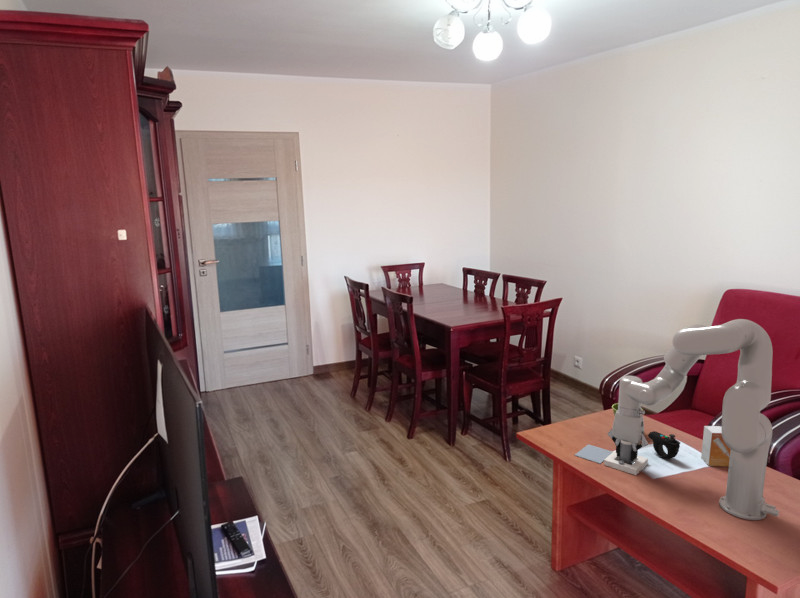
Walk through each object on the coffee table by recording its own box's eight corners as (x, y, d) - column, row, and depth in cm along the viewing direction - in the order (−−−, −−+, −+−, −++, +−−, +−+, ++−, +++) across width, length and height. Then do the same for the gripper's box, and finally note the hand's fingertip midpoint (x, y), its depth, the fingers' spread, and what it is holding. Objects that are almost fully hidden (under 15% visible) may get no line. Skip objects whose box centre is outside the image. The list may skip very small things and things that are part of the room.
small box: (708, 466, 195) (711, 432, 193) (700, 458, 201) (703, 425, 199) (732, 467, 194) (735, 433, 192) (723, 458, 200) (726, 425, 198)
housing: (647, 463, 198) (648, 456, 197) (635, 475, 190) (636, 467, 189) (616, 453, 206) (616, 447, 205) (603, 464, 197) (604, 457, 197)
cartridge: (634, 463, 198) (636, 438, 196) (629, 468, 194) (631, 442, 193) (621, 460, 201) (623, 434, 199) (616, 464, 197) (618, 438, 196)
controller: (672, 465, 196) (674, 439, 195) (645, 450, 208) (646, 426, 206) (680, 462, 198) (683, 437, 196) (653, 448, 209) (655, 424, 207)
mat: (613, 452, 207) (613, 451, 206) (600, 463, 198) (600, 463, 198) (588, 444, 213) (588, 444, 213) (574, 455, 205) (574, 454, 205)
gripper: (657, 413, 191) (653, 461, 194) (610, 401, 202) (607, 447, 205) (649, 419, 185) (646, 468, 189) (601, 407, 197) (599, 453, 200)
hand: (626, 456), depth 197 cm, fingers closed on cartridge, 4 cm apart
